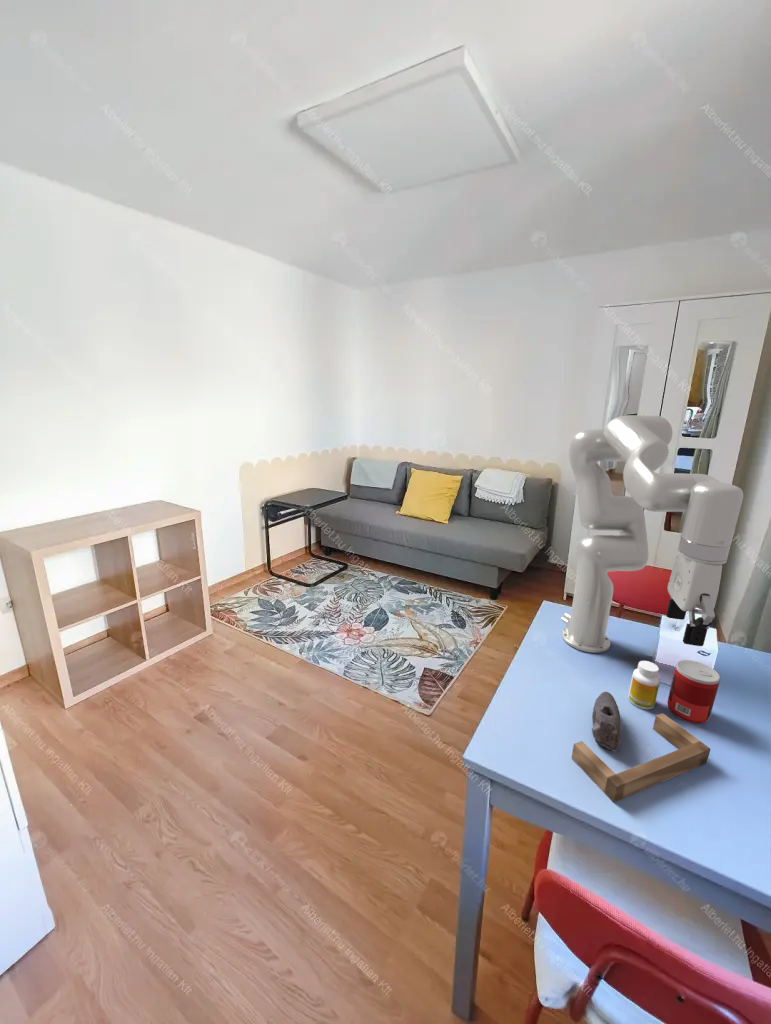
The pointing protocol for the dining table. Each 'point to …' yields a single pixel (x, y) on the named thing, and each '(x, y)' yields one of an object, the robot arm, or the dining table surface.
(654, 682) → the supplement bottle
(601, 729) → the perforated stone tool
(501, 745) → the dining table surface
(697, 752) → the bay
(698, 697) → the canned food
